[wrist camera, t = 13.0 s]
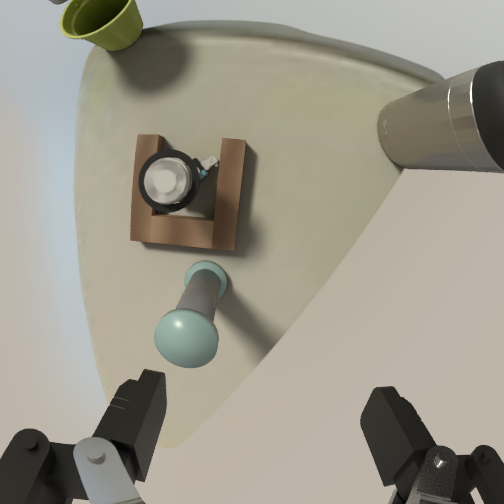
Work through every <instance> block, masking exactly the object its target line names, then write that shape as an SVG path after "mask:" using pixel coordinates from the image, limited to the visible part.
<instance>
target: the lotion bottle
mask: <svg viewBox="0 0 504 504" xmlns="http://www.w3.org/2000/svg"><path fill="white" fill-rule="evenodd" d="M50 1H51V2H52V3H54V4H62V3H64V2H66V1H67V0H50Z"/></svg>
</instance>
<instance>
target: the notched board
mask: <svg viewBox="0 0 504 504" xmlns="http://www.w3.org/2000/svg"><path fill="white" fill-rule="evenodd" d="M163 138H164V137H162V136H160V135H138V137H137V145H136V154H135V164H134V175H133V188H132V205H131V233H130V240H131V241H141V242H151V243H161V244H171V245H180V246H190V247H200V248H210V249H220V250H230V251H234V248H235V238H236V229H237V219H238V210H239V200H240V191H241V182H242V173H243V164H244V156H245V147H246V140H239V139H229V138H222V146H221V154H220V163H219V172H218V182H217V191H216V202H215V212H214V219H211V218H201V217H190V216H178V215H166V214H157V210H155V209H153V208H151V207H150V206H149V205H148V204H147V203H146V202H145V201H144V199H143V198H142V196H141V193H140V190H139V185H138V179H139V173H140V170H141V168H142V166H143V164H144V163H145V161H146V160H147V159H148V158H149V157H150V156H152V155H153V154H155V153H157V152H159V151H162V146H163Z"/></svg>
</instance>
